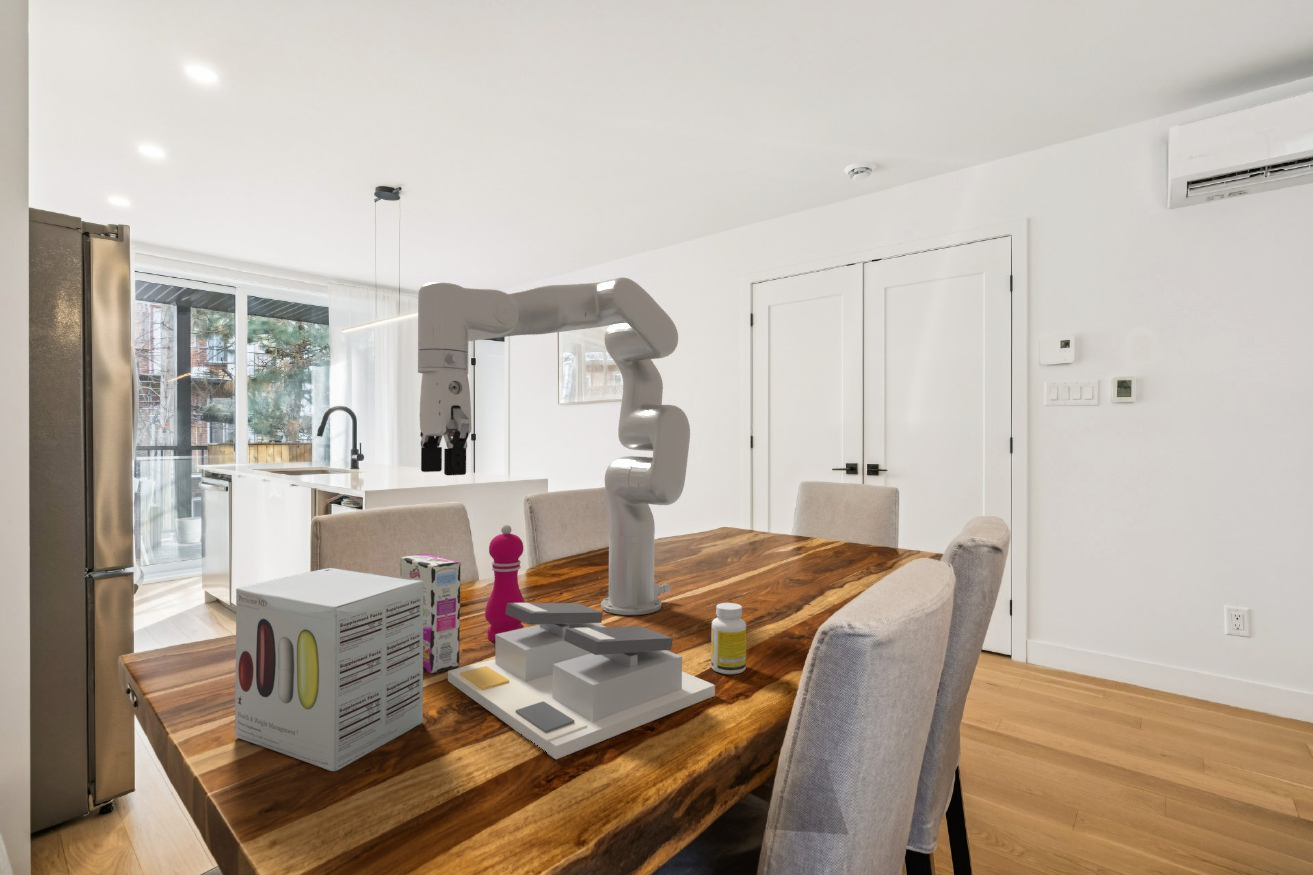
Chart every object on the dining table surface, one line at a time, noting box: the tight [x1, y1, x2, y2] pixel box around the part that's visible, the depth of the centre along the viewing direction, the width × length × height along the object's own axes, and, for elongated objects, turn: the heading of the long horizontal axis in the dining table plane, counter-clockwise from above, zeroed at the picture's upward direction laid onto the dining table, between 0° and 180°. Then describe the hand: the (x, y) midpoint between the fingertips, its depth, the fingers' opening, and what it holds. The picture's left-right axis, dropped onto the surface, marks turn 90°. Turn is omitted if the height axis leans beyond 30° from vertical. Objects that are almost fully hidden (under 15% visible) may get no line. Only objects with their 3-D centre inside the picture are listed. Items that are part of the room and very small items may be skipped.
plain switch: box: [564, 625, 674, 655], centre depth 84 cm, size 13×7×2 cm, turn 132°
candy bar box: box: [399, 553, 461, 675], centre depth 99 cm, size 11×5×16 cm, turn 47°
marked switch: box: [505, 602, 604, 626], centre depth 96 cm, size 13×7×2 cm, turn 132°
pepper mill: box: [484, 524, 526, 643], centre depth 111 cm, size 7×7×20 cm
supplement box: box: [234, 567, 424, 772], centre depth 76 cm, size 17×13×18 cm
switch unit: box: [447, 623, 716, 760], centre depth 89 cm, size 26×29×8 cm
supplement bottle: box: [710, 602, 747, 675], centre depth 97 cm, size 5×5×10 cm
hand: (442, 473), depth 98 cm, fingers open, 9 cm apart
